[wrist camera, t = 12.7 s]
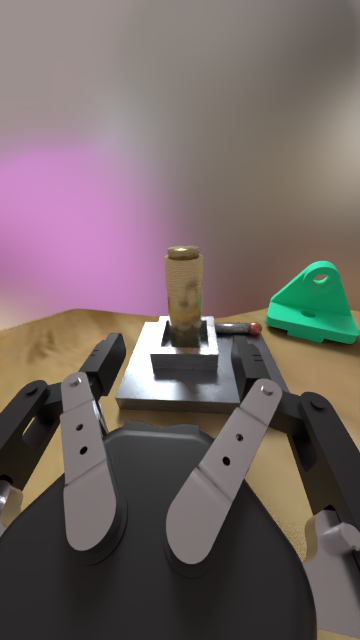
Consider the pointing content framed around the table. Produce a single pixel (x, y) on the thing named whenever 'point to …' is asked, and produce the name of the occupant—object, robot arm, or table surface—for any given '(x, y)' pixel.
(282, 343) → the table surface
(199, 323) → the brass cylinder peg
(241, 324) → the dock
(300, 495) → the table surface
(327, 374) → the table surface
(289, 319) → the camera mount
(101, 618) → the robot arm
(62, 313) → the table surface
